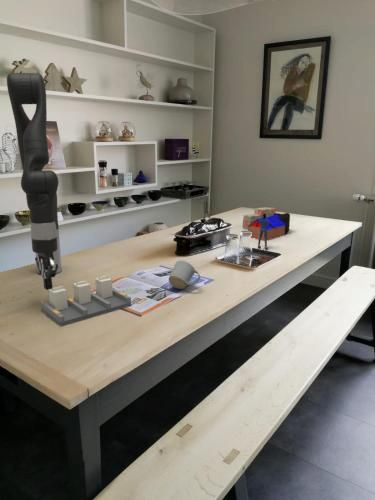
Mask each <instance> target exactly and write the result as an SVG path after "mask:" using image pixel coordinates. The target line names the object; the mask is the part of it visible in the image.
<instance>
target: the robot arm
mask: <svg viewBox="0 0 375 500" xmlns="http://www.w3.org/2000/svg"><path fill="white" fill-rule="evenodd" d="M6 86H7V92H8V96H9V101H10V107H11V110H12V114H13V118H14V123H15V130H16V137H17V146H18V150H19V156H20V161H21V166H22V173H21V174H22V175H21V180H20V186H21V189H22V191H23V192H24V194H25V198H26V204H27V208H28V210H29V214H30V215H29V217H30V237H31V249H32V250H31V251H32V252H33V253H35V257H34V260H35V263H36V273H38V274H40V275H41V278H43V279H42V280H43V288H44V289H45V290H46V291H49V289H52V288H53V278H55V277H56V274H58V273H61V272H62V259H61V257H62V256H61V244H60V232H59V231H60V230H59V219H58V218H59V216H58V215H59V214H58V187H59V178H58V175H57V173H55V172H54V171H53V170H43V169H44V168H45V166H47V164H49V162H50V154H49V153H50V152H49V147H48V138H47V111H48V110H47V91H46V84H45V80H44V77H43V75H42V74H41V73H38V72H10V73H8V74H7V76H6ZM23 105H35V111H34V114H33V116H32V118H31V119H30V117H29V116H28V115H27V113H26V111H25V109H24V106H23Z"/></svg>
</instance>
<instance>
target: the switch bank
mask: <svg viewBox="0 0 375 500" xmlns="http://www.w3.org/2000/svg"><path fill="white" fill-rule="evenodd" d="M112 291H113V296H112V297H108V298H104V299H103V298H101V297H99V296H98V295H96V293H94V292H93V291H91V302H89V303H85V304H82V305H80V304H78V303H77V302H75V301H74V298H71V297H69V296H67V303H68V308H67V309H63V310H59V311H57V310H55V309H54V308H53V307H51V306H50V303H47V302H46V301H42V302H40V308H41V312H42V313H44V314H45V315H46V316H47V317H49V318H50V319H51V320H52V321H54V322H55V323H56V324H57V325H59V326H60V327H62V326H66V325H70V324H73V323H76V322H80V321H83V320H86V319H90V318H93V317H94V318H95V317H98V316H101V315H104V314H107V313H110V312H113V311H118V310H120V309H124V308H127V307H131V306H132V297H130V296H128V294H125V293H124V292H121V291H119V290H117V289H116V288H113V287H112Z"/></svg>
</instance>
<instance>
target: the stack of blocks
mask: <svg viewBox="0 0 375 500" xmlns="http://www.w3.org/2000/svg"><path fill="white" fill-rule="evenodd" d="M276 211H277V208H275V207H270V206H267V207H257V208H254V211H253V213H250V214H249V213H248V214H243V217H242V218H243V219H242V229H243V230H247V231H248V227H247V226H249V225H250V224H251V223H253V222H254V221H255V220H256V219H260V218H263V214H266V217H268V216H273V214H275V213H277V212H276Z"/></svg>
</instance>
